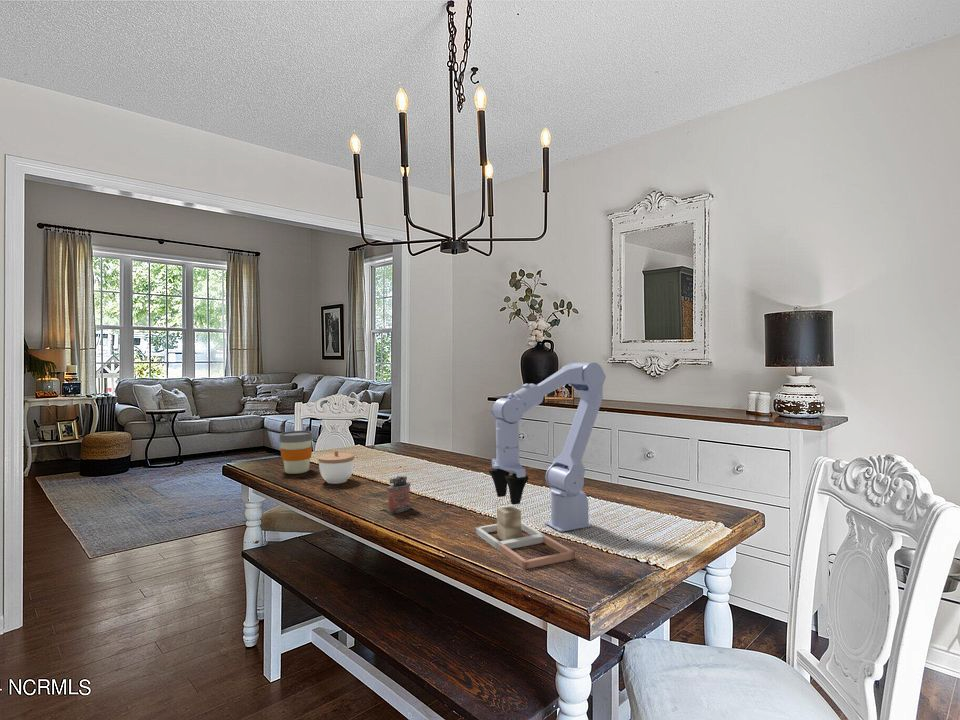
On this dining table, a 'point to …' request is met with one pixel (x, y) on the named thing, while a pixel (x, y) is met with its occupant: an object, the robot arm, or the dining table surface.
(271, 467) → the dining table surface
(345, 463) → the lidded bowl
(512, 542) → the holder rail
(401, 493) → the lighter
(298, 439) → the reusable coffee cup
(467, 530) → the dining table surface
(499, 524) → the maple block
